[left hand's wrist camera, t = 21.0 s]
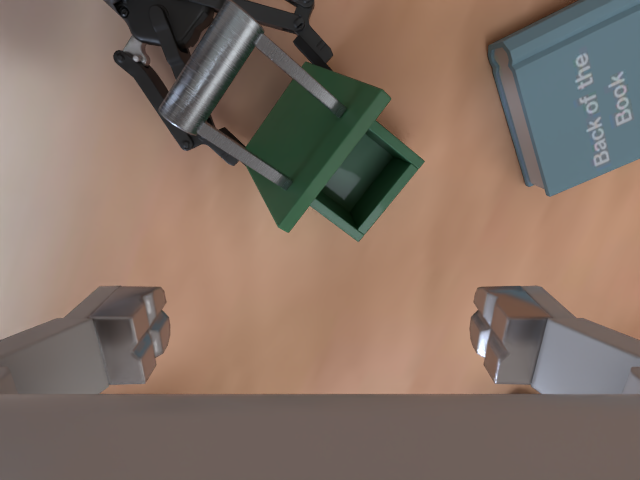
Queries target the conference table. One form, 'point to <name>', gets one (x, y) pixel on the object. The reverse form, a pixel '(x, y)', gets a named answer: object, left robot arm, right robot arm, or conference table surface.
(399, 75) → the conference table surface
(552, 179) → the book
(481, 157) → the conference table surface
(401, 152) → the chest
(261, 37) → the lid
